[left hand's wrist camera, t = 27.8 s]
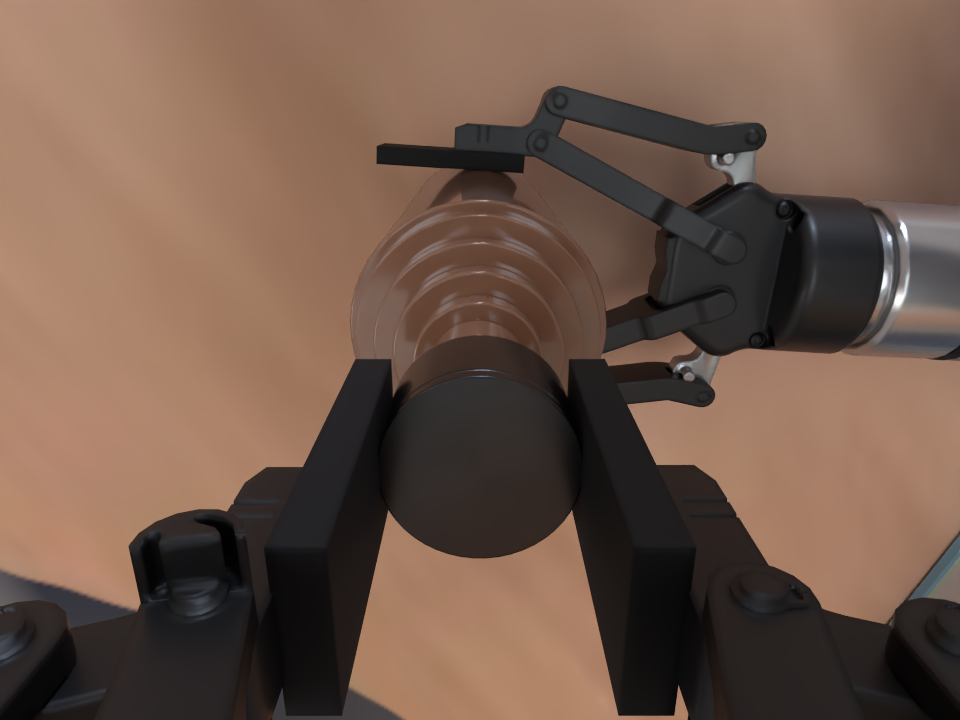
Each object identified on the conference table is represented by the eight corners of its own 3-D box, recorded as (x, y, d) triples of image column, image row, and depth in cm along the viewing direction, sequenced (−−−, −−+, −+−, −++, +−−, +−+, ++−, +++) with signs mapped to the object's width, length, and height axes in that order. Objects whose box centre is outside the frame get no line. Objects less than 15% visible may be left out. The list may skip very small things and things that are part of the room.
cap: (570, 490, 15) (584, 553, 13) (400, 499, 15) (388, 563, 13) (567, 328, 14) (583, 369, 12) (381, 339, 14) (363, 382, 12)
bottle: (397, 285, 40) (282, 534, 17) (421, 144, 37) (322, 201, 14) (531, 311, 41) (604, 587, 17) (564, 175, 38) (703, 278, 14)
